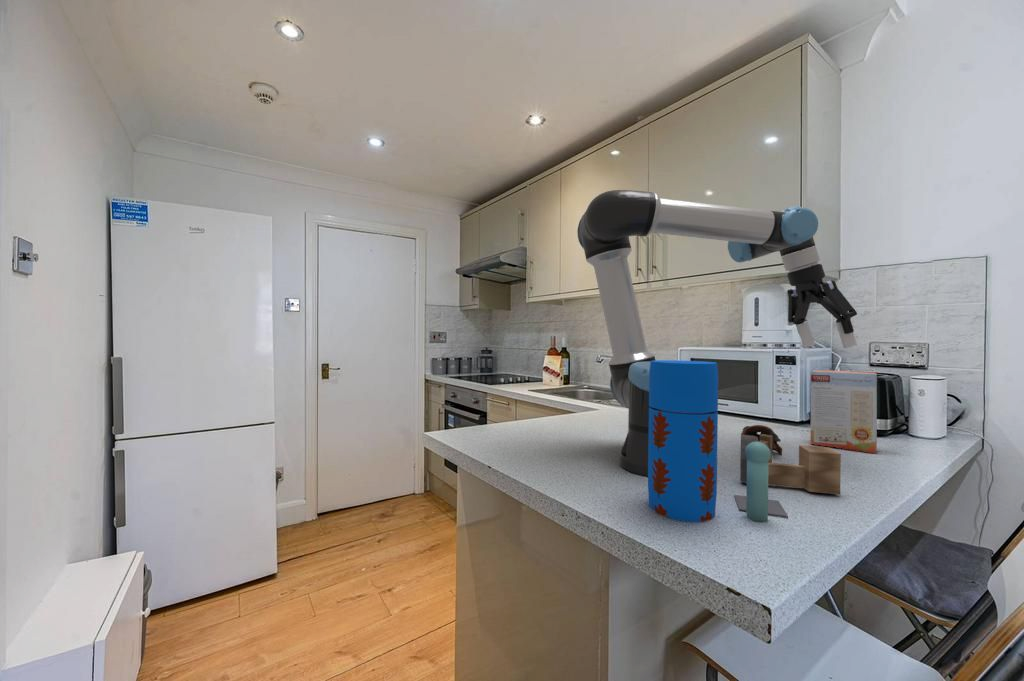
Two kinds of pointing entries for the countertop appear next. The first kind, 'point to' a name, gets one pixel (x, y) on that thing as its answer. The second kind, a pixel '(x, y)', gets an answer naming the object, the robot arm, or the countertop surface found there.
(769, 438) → the fence
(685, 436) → the thermos
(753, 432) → the pottery mug
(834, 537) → the countertop surface
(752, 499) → the post
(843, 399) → the cracker box
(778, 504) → the pad
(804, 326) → the robot arm
